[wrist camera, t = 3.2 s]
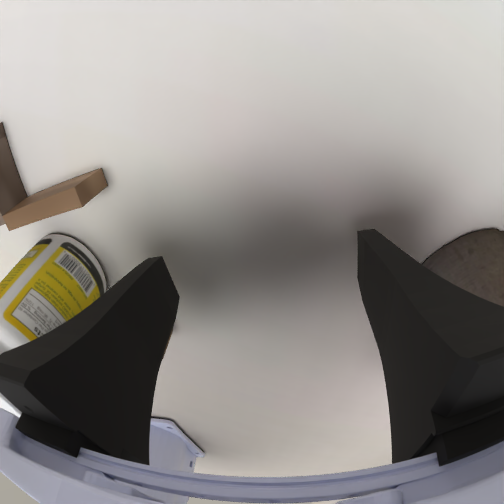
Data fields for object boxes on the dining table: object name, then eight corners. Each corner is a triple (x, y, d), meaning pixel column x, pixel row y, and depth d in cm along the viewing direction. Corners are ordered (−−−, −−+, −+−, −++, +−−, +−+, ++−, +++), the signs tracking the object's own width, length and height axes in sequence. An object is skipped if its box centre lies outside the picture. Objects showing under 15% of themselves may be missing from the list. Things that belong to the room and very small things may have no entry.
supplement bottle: (45, 288, 15) (-25, 395, 8) (33, 221, 12) (-71, 335, 5) (111, 313, 15) (49, 444, 8) (108, 245, 13) (8, 398, 6)
